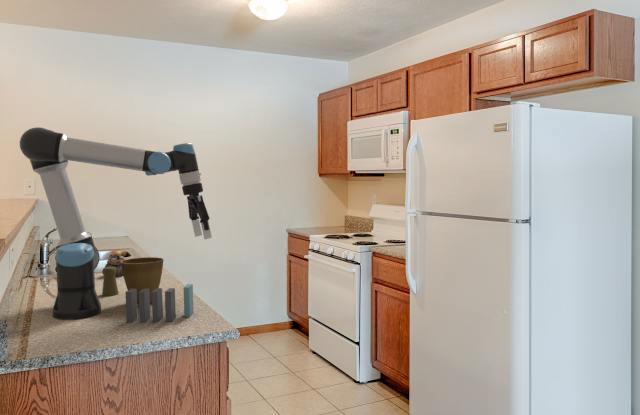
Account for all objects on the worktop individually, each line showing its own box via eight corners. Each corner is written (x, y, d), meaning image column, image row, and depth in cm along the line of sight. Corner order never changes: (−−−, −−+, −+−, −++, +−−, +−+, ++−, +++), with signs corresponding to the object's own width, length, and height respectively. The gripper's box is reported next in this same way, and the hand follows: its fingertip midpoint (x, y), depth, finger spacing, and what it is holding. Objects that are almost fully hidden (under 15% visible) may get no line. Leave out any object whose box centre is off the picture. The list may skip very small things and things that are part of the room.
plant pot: (173, 300, 196) (172, 258, 195) (141, 310, 184) (139, 264, 183) (145, 296, 204) (144, 255, 203) (113, 304, 191) (111, 261, 190)
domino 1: (126, 322, 168) (125, 292, 168) (132, 318, 173) (131, 288, 173) (132, 322, 168) (131, 292, 168) (137, 318, 173) (136, 288, 173)
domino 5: (184, 317, 174) (183, 287, 174) (188, 313, 179) (187, 284, 179) (189, 317, 174) (188, 287, 174) (193, 313, 179) (192, 284, 179)
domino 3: (152, 322, 168) (151, 291, 168) (157, 318, 173) (156, 288, 173) (158, 322, 168) (157, 291, 168) (163, 318, 173) (162, 288, 173)
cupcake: (131, 275, 246) (131, 254, 246) (114, 278, 238) (113, 257, 238) (118, 273, 251) (118, 252, 251) (100, 276, 243) (100, 255, 243)
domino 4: (165, 322, 168) (164, 291, 168) (170, 318, 173) (169, 288, 173) (171, 322, 168) (170, 291, 168) (175, 318, 173) (174, 288, 173)
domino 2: (139, 322, 168) (138, 291, 168) (144, 318, 173) (143, 288, 173) (145, 322, 168) (144, 291, 168) (150, 318, 173) (149, 288, 173)
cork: (112, 296, 204) (111, 268, 204) (98, 295, 206) (97, 268, 205) (121, 292, 210) (120, 265, 209) (108, 292, 211) (106, 265, 211)
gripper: (210, 180, 192) (222, 237, 195) (192, 182, 214) (203, 232, 217) (190, 185, 189) (202, 242, 191) (174, 186, 211) (186, 237, 213)
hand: (203, 237), depth 204 cm, fingers open, 13 cm apart
